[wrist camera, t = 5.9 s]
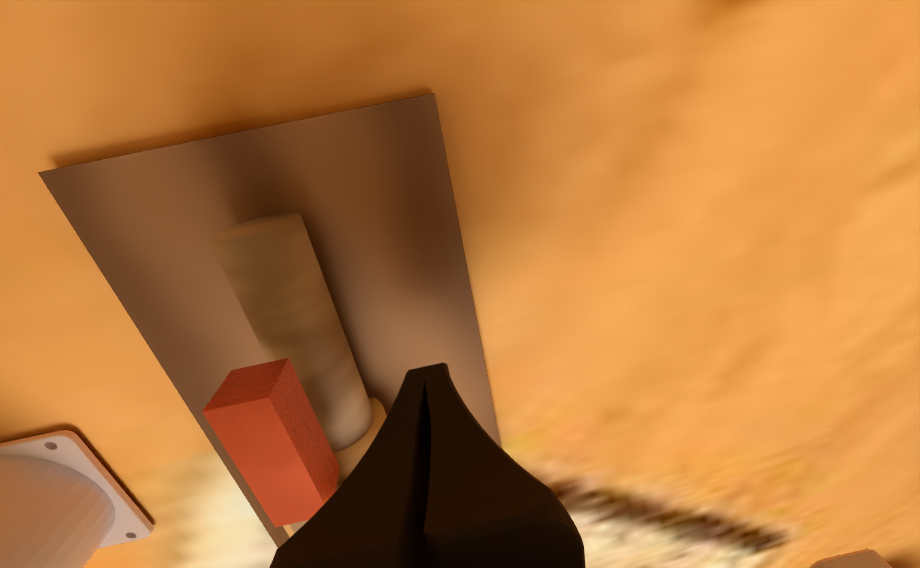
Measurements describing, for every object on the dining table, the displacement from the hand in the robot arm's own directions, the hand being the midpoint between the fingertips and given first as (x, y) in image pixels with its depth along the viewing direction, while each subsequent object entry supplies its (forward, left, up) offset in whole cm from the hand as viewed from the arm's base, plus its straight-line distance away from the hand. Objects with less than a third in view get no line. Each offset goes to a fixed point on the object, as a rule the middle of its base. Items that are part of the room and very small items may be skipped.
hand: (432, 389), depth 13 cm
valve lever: (-5, -3, 0) cm, 6 cm away
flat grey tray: (-5, -8, -6) cm, 11 cm away
